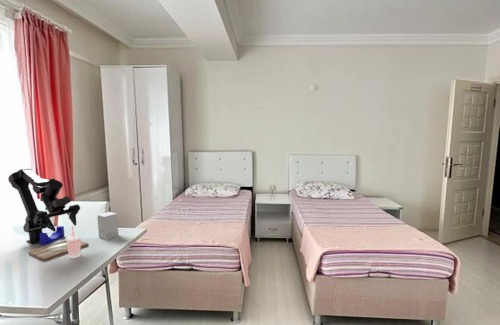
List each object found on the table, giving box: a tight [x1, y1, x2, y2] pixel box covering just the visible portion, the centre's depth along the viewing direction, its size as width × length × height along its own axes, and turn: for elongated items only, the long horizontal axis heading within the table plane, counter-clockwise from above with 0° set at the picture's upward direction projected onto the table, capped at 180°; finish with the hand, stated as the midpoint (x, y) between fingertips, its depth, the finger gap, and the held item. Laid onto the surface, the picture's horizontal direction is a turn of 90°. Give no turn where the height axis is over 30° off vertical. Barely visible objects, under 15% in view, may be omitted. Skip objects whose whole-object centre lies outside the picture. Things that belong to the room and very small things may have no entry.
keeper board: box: [28, 239, 89, 262], centre depth 139 cm, size 14×20×2 cm
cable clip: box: [39, 225, 65, 246], centre depth 152 cm, size 12×4×6 cm, turn 170°
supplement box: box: [97, 211, 119, 241], centre depth 157 cm, size 7×7×13 cm
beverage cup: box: [65, 225, 82, 259], centre depth 132 cm, size 6×6×14 cm
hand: (65, 228), depth 135 cm, fingers open, 9 cm apart
